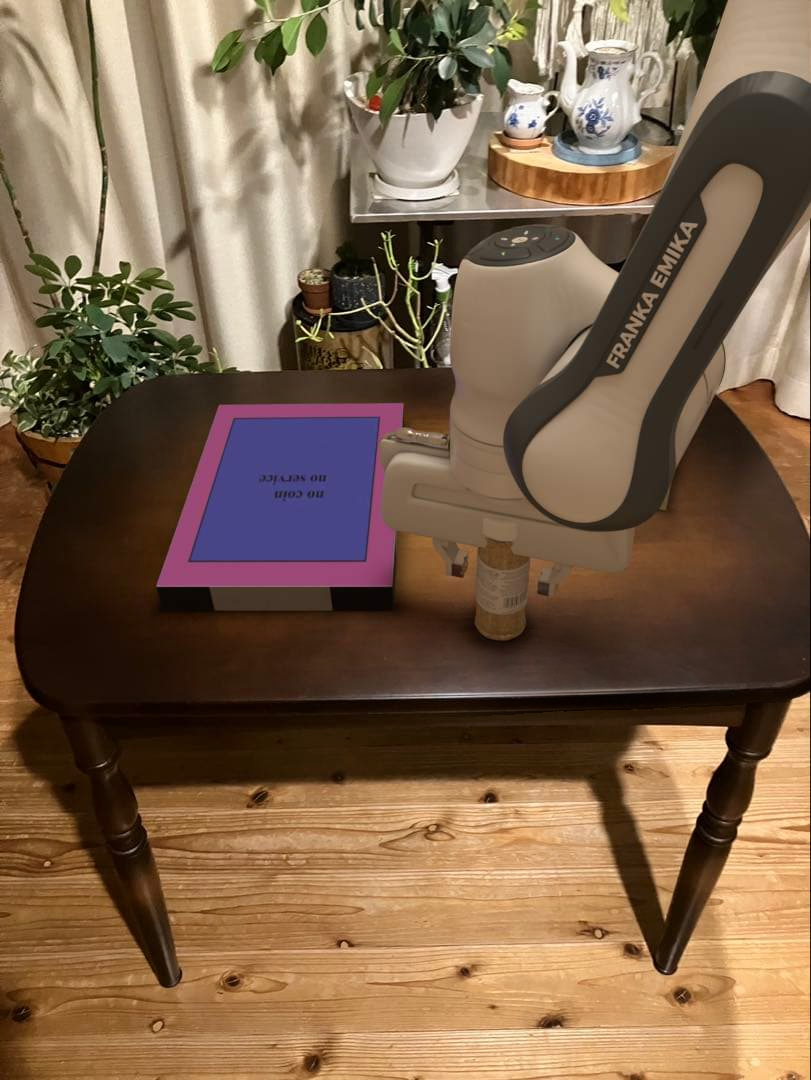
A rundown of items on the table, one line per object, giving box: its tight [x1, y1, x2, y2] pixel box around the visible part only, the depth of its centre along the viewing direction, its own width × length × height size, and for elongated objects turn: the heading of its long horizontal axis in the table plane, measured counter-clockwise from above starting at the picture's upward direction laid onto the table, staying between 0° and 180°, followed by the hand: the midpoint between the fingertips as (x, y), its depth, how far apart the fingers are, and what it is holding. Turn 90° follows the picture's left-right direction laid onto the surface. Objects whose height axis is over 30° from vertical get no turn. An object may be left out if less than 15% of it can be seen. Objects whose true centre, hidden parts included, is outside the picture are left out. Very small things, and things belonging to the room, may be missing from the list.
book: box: [156, 402, 405, 612], centre depth 93 cm, size 21×3×30 cm
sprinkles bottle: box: [474, 518, 531, 642], centre depth 76 cm, size 5×5×14 cm
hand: (501, 581), depth 77 cm, fingers open, 6 cm apart
